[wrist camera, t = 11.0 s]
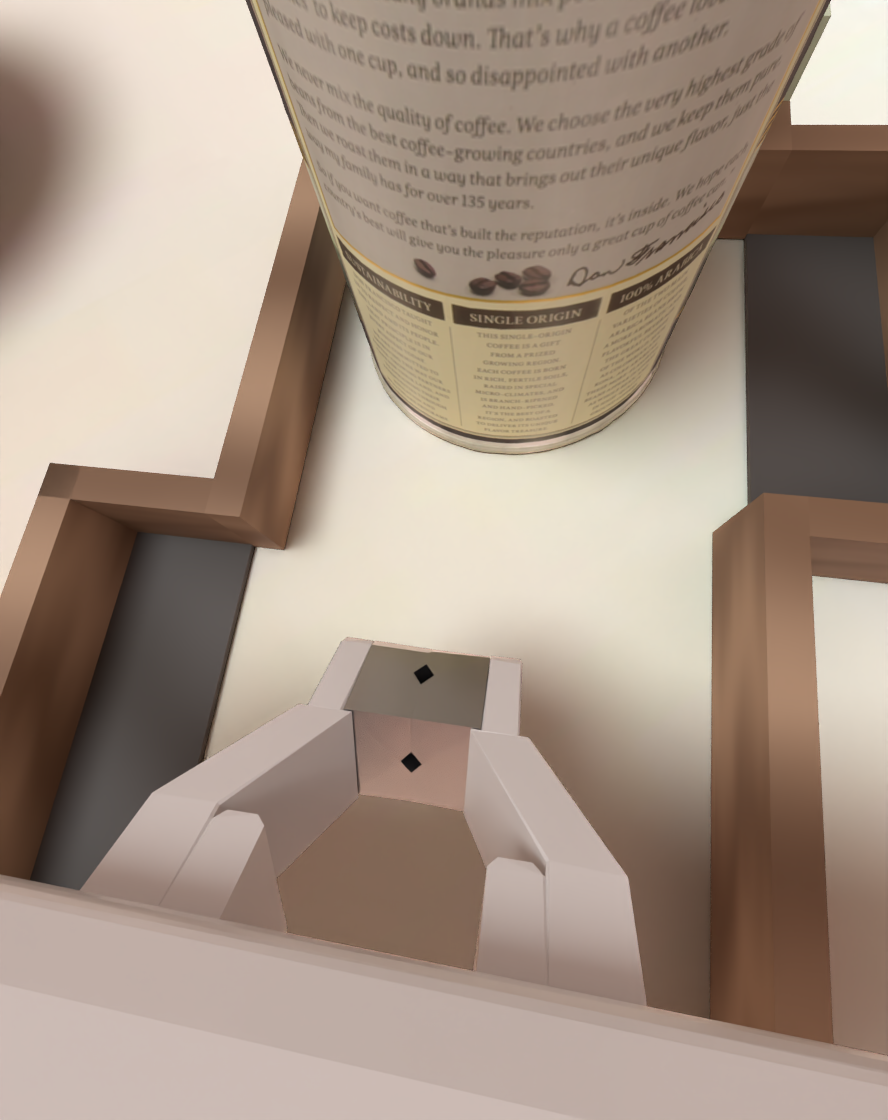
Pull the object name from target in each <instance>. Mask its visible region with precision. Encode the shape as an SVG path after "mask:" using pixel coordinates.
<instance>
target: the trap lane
mask: <svg viewBox="0 0 888 1120" xmlns="http://www.w3.org/2000/svg"><path fill="white" fill-rule="evenodd" d="M717 238H727V239H744V248H745V322H746V396H747V470H748V505H747V506H746V507H745V508H743V509H742V510H741V511H740V512H738V513H737V514H736V515H734V516H733V517H732V518H731V519H729V520H728V521H727V522H726V523H724V524H723V525H722V526H720V527H719V528H718V529H717V530H715V531H714V532H713V570H712V757H711V944H710V1019H712V1020H717V1021H722V1022H727V1023H731V1024H736V1025H741V1026H746V1027H751V1028H756V1029H761V1030H766V1031H770V1032H775V1033H780V1034H785V1035H790V1036H795V1037H800V1038H805V1039H810V1040H815V1041H820V1042H825V1043H829V1044H833V1025H832V1003H831V982H830V960H829V938H828V917H827V895H826V873H825V852H824V830H823V808H822V787H821V765H820V743H819V721H818V700H817V678H816V656H815V635H814V613H813V591H812V575H813V576H823V577H832V578H842V579H851V580H861V581H870V582H880V583H888V125H791V114H790V101H782V103H781V106H780V108H779V110H778V112H777V114H776V116H775V118H774V120H773V122H772V124H771V126H770V128H769V130H768V132H767V134H766V136H765V139H764V141H763V143H762V145H761V147H760V149H759V151H758V153H757V156H756V158H755V160H754V162H753V164H752V166H751V168H750V170H749V172H748V174H747V176H746V178H745V180H744V182H743V184H742V186H741V188H740V191H739V193H738V195H737V197H736V199H735V201H734V203H733V205H732V208H731V210H730V212H729V214H728V216H727V218H726V220H725V222H724V224H723V227H722V229H721V231H720V233H719V235H718V237H717ZM345 283H346V280H345V277H344V274H343V270H342V267H341V264H340V261H339V258H338V255H337V252H336V250H335V247H334V244H333V241H332V238H331V235H330V233H329V230H328V227H327V224H326V221H325V218H324V216H323V213H322V210H321V207H320V204H319V201H318V199H317V196H316V193H315V190H314V187H313V184H312V181H311V179H310V176H309V173H308V170H307V167H306V164H305V162H304V159H302V163H301V167H300V170H299V174H298V177H297V181H296V185H295V188H294V192H293V196H292V199H291V203H290V206H289V210H288V214H287V217H286V221H285V224H284V228H283V232H282V235H281V239H280V242H279V246H278V250H277V253H276V257H275V260H274V264H273V268H272V271H271V275H270V278H269V282H268V286H267V289H266V293H265V296H264V300H263V304H262V307H261V311H260V314H259V318H258V322H257V325H256V329H255V332H254V336H253V340H252V343H251V347H250V350H249V354H248V358H247V361H246V365H245V369H244V372H243V376H242V379H241V383H240V387H239V390H238V394H237V397H236V401H235V405H234V408H233V412H232V415H231V419H230V423H229V426H228V430H227V433H226V437H225V441H224V444H223V448H222V451H221V455H220V459H219V462H218V466H217V469H216V473H215V477H214V479H211V478H201V477H190V476H180V475H169V474H159V473H149V472H138V471H128V470H117V469H107V468H97V467H86V466H76V465H66V464H55V463H50V464H49V467H48V470H47V472H46V475H45V478H44V481H43V483H42V486H41V489H40V491H39V494H38V497H37V499H36V502H35V505H34V508H33V510H32V513H31V516H30V518H29V521H28V524H27V526H26V529H25V532H24V535H23V537H22V540H21V543H20V545H19V548H18V551H17V553H16V556H15V559H14V562H13V564H12V567H11V570H10V572H9V575H8V578H7V580H6V583H5V586H4V589H3V591H2V594H1V597H0V874H1V875H6V876H11V877H16V878H21V879H26V880H31V881H36V882H41V883H46V884H50V885H55V886H60V887H65V888H70V889H75V890H80V889H81V888H82V887H83V885H84V884H85V883H86V881H87V880H88V879H89V877H90V876H91V874H92V873H93V872H94V870H95V869H96V868H97V866H98V865H99V864H100V862H101V861H102V860H103V858H104V857H105V856H106V854H107V853H108V852H109V850H110V849H111V847H112V846H113V845H114V843H115V842H116V841H117V839H118V838H119V837H120V835H121V834H122V833H123V831H124V830H125V829H126V827H127V826H128V825H129V823H130V822H131V821H132V819H133V818H134V816H135V815H136V814H137V812H138V811H139V810H140V808H141V807H142V806H143V804H144V803H145V802H146V800H147V799H148V798H149V796H150V795H151V794H152V792H154V791H156V790H157V789H159V788H161V787H162V786H164V785H166V784H167V783H169V782H170V781H172V780H174V779H175V778H177V777H179V776H180V775H182V774H184V773H185V772H187V771H189V770H190V769H192V768H194V767H195V766H197V765H199V764H200V763H202V759H203V755H204V751H205V747H206V743H207V739H208V735H209V731H210V727H211V722H212V718H213V714H214V710H215V706H216V702H217V698H218V694H219V690H220V686H221V682H222V678H223V674H224V670H225V666H226V661H227V657H228V653H229V649H230V645H231V641H232V637H233V633H234V629H235V625H236V621H237V617H238V613H239V609H240V605H241V601H242V596H243V592H244V588H245V584H246V580H247V576H248V572H249V568H250V564H251V560H252V556H253V552H254V548H255V547H263V548H272V549H281V550H284V548H285V544H286V540H287V535H288V531H289V527H290V522H291V518H292V514H293V509H294V505H295V501H296V496H297V492H298V488H299V483H300V479H301V475H302V470H303V466H304V462H305V457H306V453H307V449H308V444H309V440H310V436H311V431H312V427H313V422H314V418H315V414H316V409H317V405H318V401H319V396H320V392H321V388H322V383H323V379H324V375H325V370H326V366H327V362H328V357H329V353H330V349H331V344H332V340H333V336H334V331H335V327H336V323H337V318H338V314H339V310H340V305H341V301H342V297H343V292H344V288H345Z"/></svg>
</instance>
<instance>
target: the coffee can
mask: <svg viewBox="0 0 888 1120" xmlns="http://www.w3.org/2000/svg"><path fill="white" fill-rule="evenodd" d="M830 1H831V0H246V2H247V5H248V8H249V10H250V13H251V16H252V19H253V21H254V24H255V27H256V29H257V32H258V35H259V38H260V40H261V43H262V46H263V49H264V51H265V54H266V57H267V60H268V62H269V65H270V68H271V71H272V73H273V76H274V79H275V82H276V84H277V87H278V90H279V92H280V95H281V98H282V101H283V104H284V108H285V110H286V113H287V115H288V118H289V120H290V123H291V126H292V129H293V131H294V134H295V137H296V140H297V142H298V145H299V148H300V151H301V153H302V156H303V159H304V162H305V164H306V167H307V170H308V173H309V176H310V179H311V181H312V184H313V187H314V190H315V193H316V196H317V199H318V201H319V204H320V207H321V210H322V213H323V216H324V218H325V221H326V224H327V227H328V230H329V233H330V235H331V238H332V241H333V244H334V247H335V250H336V252H337V255H338V258H339V261H340V264H341V267H342V270H343V274H344V277H345V280H346V282H347V285H348V287H349V290H350V292H351V294H352V298H353V301H354V305H355V307H356V310H357V312H358V316H359V319H360V321H361V323H362V326H363V329H364V332H365V335H366V338H367V340H368V343H369V345H370V350H371V355H372V359H373V362H374V366H375V369H376V371H377V374H378V376H379V379H380V381H381V383H382V385H383V387H384V389H385V391H386V392H387V394H388V395H389V397H390V398H391V399H392V401H393V402H394V403H395V404H396V405H397V406H398V407H399V408H400V409H401V410H402V411H403V412H404V413H405V414H406V415H407V416H408V417H409V418H410V419H411V420H412V421H414V422H415V423H416V424H418V425H419V426H420V427H422V428H423V429H425V430H426V431H428V432H430V433H432V434H433V435H435V436H437V437H439V438H441V439H444V440H446V441H448V442H451V443H453V444H456V445H459V446H462V447H465V448H468V449H471V450H474V451H480V452H488V453H505V454H525V453H533V452H541V451H546V450H550V449H554V448H558V447H562V446H565V445H568V444H571V443H574V442H576V441H579V440H581V439H583V438H585V437H587V436H589V435H591V434H593V433H596V432H598V431H600V430H602V429H603V428H605V427H606V426H607V425H608V424H609V423H611V422H612V421H613V420H615V419H616V418H618V417H619V416H620V415H622V414H623V413H624V412H625V411H626V410H627V409H628V408H629V407H630V406H631V405H632V404H633V403H634V402H635V401H636V400H637V399H638V398H639V397H640V395H641V394H642V393H643V391H644V390H645V389H646V387H647V386H648V384H649V383H650V381H651V380H652V378H653V376H654V374H655V372H656V370H657V368H658V365H659V363H660V361H661V358H662V355H663V351H664V348H665V345H666V343H667V341H668V339H669V337H670V335H671V333H672V331H673V329H674V327H675V325H676V323H677V321H678V318H679V316H680V314H681V312H682V310H683V308H684V306H685V304H686V301H687V299H688V298H689V296H690V294H691V292H692V290H693V288H694V285H695V283H696V281H697V279H698V277H699V275H700V273H701V270H702V268H703V266H704V264H705V261H706V259H707V257H708V255H709V253H710V251H711V249H712V247H713V245H714V243H715V241H716V239H717V237H718V235H719V233H720V231H721V229H722V227H723V224H724V222H725V220H726V218H727V216H728V214H729V212H730V210H731V208H732V205H733V203H734V201H735V199H736V197H737V195H738V193H739V191H740V188H741V186H742V184H743V182H744V180H745V178H746V176H747V174H748V172H749V170H750V168H751V166H752V164H753V162H754V160H755V158H756V156H757V153H758V151H759V149H760V147H761V145H762V143H763V141H764V139H765V136H766V134H767V132H768V130H769V128H770V126H771V124H772V122H773V120H774V118H775V116H776V114H777V112H778V110H779V108H780V106H781V103H782V101H783V99H784V97H785V95H786V93H787V91H788V89H789V87H790V85H791V83H792V81H793V79H794V76H795V74H796V72H797V70H798V68H799V66H800V64H801V62H802V60H803V58H804V56H805V54H806V52H807V50H808V48H809V46H810V44H811V42H812V40H813V38H814V35H815V33H816V31H817V29H818V26H819V24H820V22H821V20H822V18H823V16H824V14H825V12H826V10H827V8H828V5H829V3H830Z"/></svg>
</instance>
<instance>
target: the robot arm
mask: <svg viewBox="0 0 888 1120" xmlns="http://www.w3.org/2000/svg"><path fill="white" fill-rule="evenodd" d="M489 663H490V666H489ZM488 674H489V675H488ZM521 685H522V661H521V659H514V658H505V657H496V656H491V659H490V657H489V656H481V655H473V654H465V653H457V652H449V651H441V650H432V649H427V648H420V647H413V646H407V645H400V644H394V643H387V642H381V641H371V640H364V639H358V638H351V637H346V638H345V639H344V640H343V641H342V642H341V643H340V645H339V647H338V648H337V650H336V652H335V654H334V656H333V658H332V660H331V662H330V663H329V665H328V667H327V669H326V671H325V673H324V675H323V677H322V679H321V680H320V682H319V684H318V686H317V688H316V690H315V692H314V694H313V695H312V697H311V699H310V701H309V703H308V705H304V704H297V705H296V706H294V707H292V708H291V709H289V710H287V711H286V712H284V713H283V714H281V715H279V716H278V717H276V718H274V719H273V720H271V721H269V722H268V723H266V724H264V725H263V726H261V727H259V728H258V729H256V730H255V731H253V732H251V733H250V734H248V735H246V736H245V737H243V738H241V739H240V740H238V741H236V742H235V743H233V744H231V745H230V746H228V747H227V748H225V749H223V750H222V751H220V752H218V753H217V754H215V755H213V756H212V757H210V758H208V759H207V760H205V761H203V762H202V763H200V764H199V765H197V766H195V767H194V768H192V769H190V770H189V771H187V772H185V773H184V774H182V775H180V776H179V777H177V778H175V779H174V780H172V781H170V782H169V783H167V784H166V785H164V786H162V787H161V788H159V789H157V790H156V791H154V792H152V794H151V795H150V796H149V798H148V799H147V800H146V802H145V803H144V804H143V806H142V807H141V808H140V810H139V811H138V812H137V814H136V815H135V816H134V818H133V819H132V821H131V822H130V823H129V825H128V826H127V827H126V829H125V830H124V831H123V833H122V834H121V835H120V837H119V838H118V839H117V841H116V842H115V843H114V845H113V846H112V847H111V849H110V850H109V852H108V853H107V854H106V856H105V857H104V858H103V860H102V861H101V862H100V864H99V865H98V866H97V868H96V869H95V870H94V872H93V873H92V874H91V876H90V877H89V879H88V880H87V881H86V883H85V884H84V885H83V887H82V888H81V889H80V890H75V889H70V888H65V887H60V886H55V885H50V884H46V883H41V882H36V881H31V880H26V879H21V878H16V877H11V876H6V875H1V874H0V1120H888V1055H884V1054H879V1053H874V1052H869V1051H864V1050H859V1049H854V1048H849V1047H844V1046H839V1045H834V1044H829V1043H825V1042H820V1041H815V1040H810V1039H805V1038H800V1037H795V1036H790V1035H785V1034H780V1033H775V1032H770V1031H766V1030H761V1029H756V1028H751V1027H746V1026H741V1025H736V1024H731V1023H727V1022H722V1021H717V1020H712V1019H707V1018H702V1017H697V1016H692V1015H687V1014H683V1013H678V1012H673V1011H668V1010H663V1009H658V1008H653V1007H648V1006H647V1001H646V995H645V988H644V981H643V974H642V968H641V961H640V954H639V947H638V941H637V934H636V927H635V920H634V914H633V907H632V900H631V893H630V887H629V880H628V877H627V875H626V874H625V872H624V871H623V869H622V868H621V867H620V865H619V864H618V862H617V861H616V860H615V858H614V857H613V855H612V854H611V852H610V851H609V850H608V848H607V847H606V845H605V844H604V843H603V841H602V840H601V838H600V837H599V836H598V834H597V833H596V831H595V830H594V828H593V827H592V826H591V824H590V823H589V821H588V820H587V819H586V817H585V816H584V814H583V813H582V811H581V810H580V809H579V807H578V806H577V804H576V803H575V802H574V800H573V799H572V797H571V796H570V795H569V793H568V792H567V790H566V789H565V787H564V786H563V785H562V783H561V782H560V780H559V779H558V778H557V776H556V775H555V773H554V772H553V770H552V769H551V768H550V766H549V765H548V763H547V762H546V761H545V759H544V758H543V756H542V755H541V754H540V752H539V751H538V749H537V748H536V746H535V745H534V744H533V742H532V741H531V739H530V738H528V737H522V736H520V712H521ZM358 794H361V795H368V796H375V797H383V798H390V799H397V800H405V801H412V802H417V803H422V804H427V805H432V806H437V807H442V808H447V809H453V810H458V811H463V812H464V817H465V819H466V821H467V824H468V826H469V829H470V831H471V834H472V836H473V838H474V841H475V843H476V846H477V848H478V851H479V853H480V855H481V858H482V860H483V863H484V865H485V867H486V878H485V885H484V893H483V900H482V907H481V915H480V922H479V930H478V937H477V945H476V952H475V960H474V968H473V971H472V970H468V969H463V968H458V967H453V966H448V965H443V964H438V963H433V962H428V961H424V960H419V959H414V958H409V957H404V956H399V955H394V954H389V953H385V952H380V951H375V950H370V949H365V948H360V947H355V946H350V945H345V944H340V943H335V942H330V941H326V940H321V939H316V938H311V937H306V936H301V935H296V934H291V933H286V931H287V923H286V919H285V915H284V910H283V906H282V901H281V897H280V893H279V888H278V884H277V880H276V878H277V877H278V876H280V875H281V874H282V873H283V872H284V871H285V870H286V869H287V868H288V867H289V866H290V865H291V864H292V863H293V862H294V861H295V860H296V859H297V858H298V857H299V856H300V855H301V854H302V853H303V852H304V851H305V850H306V849H307V848H308V847H309V846H310V845H311V844H312V843H313V842H314V841H315V840H316V839H317V838H318V837H319V836H320V835H321V834H322V833H323V832H324V831H325V830H326V829H327V828H328V827H329V826H330V825H331V824H332V823H333V822H334V821H335V820H336V819H337V818H338V817H339V816H340V815H341V814H342V813H343V812H344V811H345V810H346V809H347V808H348V807H349V806H350V805H351V804H352V803H353V802H354V801H355V800H356V799H358Z"/></svg>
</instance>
